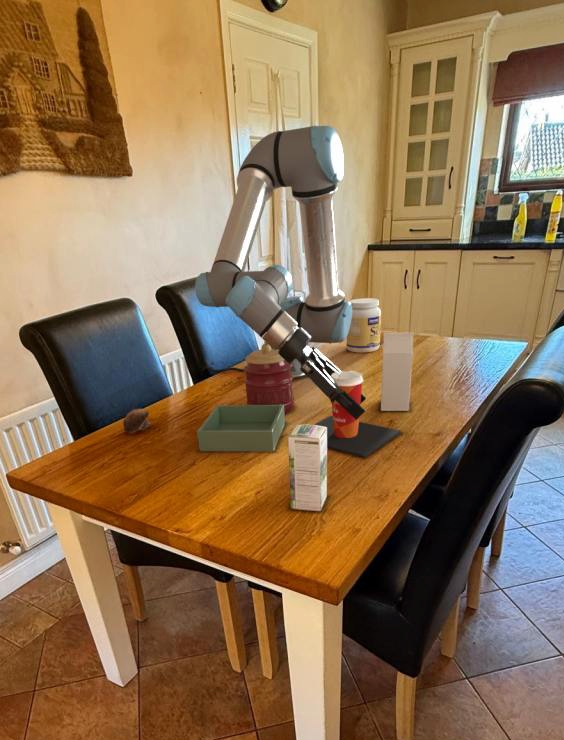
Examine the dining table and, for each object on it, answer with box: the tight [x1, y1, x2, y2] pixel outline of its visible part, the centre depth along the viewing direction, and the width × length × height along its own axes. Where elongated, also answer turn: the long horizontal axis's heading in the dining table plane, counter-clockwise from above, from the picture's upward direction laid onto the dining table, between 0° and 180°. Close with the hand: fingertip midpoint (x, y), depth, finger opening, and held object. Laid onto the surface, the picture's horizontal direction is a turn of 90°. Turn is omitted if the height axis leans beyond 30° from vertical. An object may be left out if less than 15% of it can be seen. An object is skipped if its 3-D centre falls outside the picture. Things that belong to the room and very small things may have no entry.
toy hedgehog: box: [122, 408, 153, 434], centre depth 133 cm, size 8×8×6 cm
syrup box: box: [287, 424, 328, 512], centre depth 92 cm, size 6×6×14 cm
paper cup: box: [331, 370, 365, 438], centre depth 118 cm, size 8×8×14 cm
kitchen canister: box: [242, 343, 295, 414], centre depth 137 cm, size 13×13×18 cm
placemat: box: [313, 415, 401, 459], centre depth 122 cm, size 20×16×1 cm
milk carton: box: [380, 331, 414, 412], centre depth 131 cm, size 7×7×19 cm
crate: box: [196, 404, 286, 453], centre depth 125 cm, size 18×18×5 cm
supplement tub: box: [345, 297, 382, 354], centre depth 185 cm, size 12×12×17 cm
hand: (361, 408), depth 117 cm, fingers closed on paper cup, 8 cm apart
